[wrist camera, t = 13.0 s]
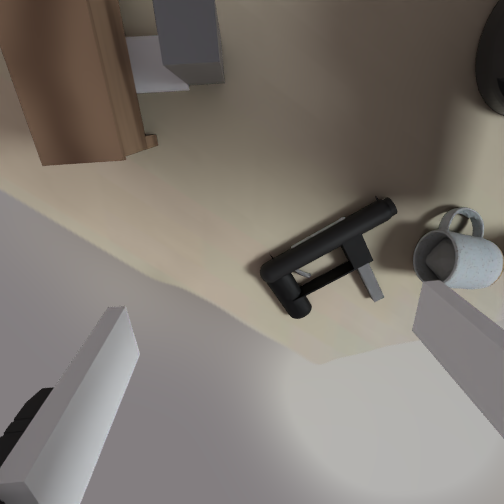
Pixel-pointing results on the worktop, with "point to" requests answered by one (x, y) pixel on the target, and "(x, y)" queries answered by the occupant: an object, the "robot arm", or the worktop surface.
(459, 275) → the ceramic mug
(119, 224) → the worktop surface
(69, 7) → the walnut stool
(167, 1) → the grey block with plate
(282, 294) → the door handle
